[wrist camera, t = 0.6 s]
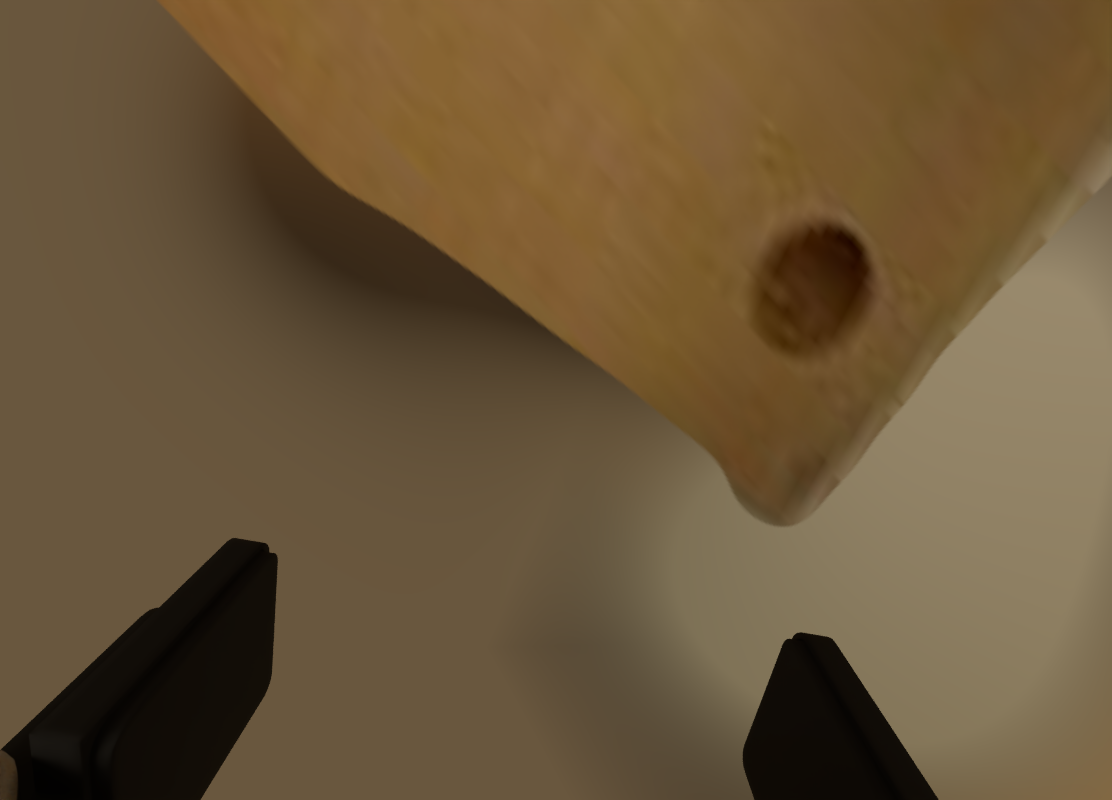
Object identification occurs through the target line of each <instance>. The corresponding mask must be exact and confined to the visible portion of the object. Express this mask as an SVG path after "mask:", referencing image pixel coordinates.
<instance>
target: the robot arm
mask: <svg viewBox="0 0 1112 800" xmlns="http://www.w3.org/2000/svg"><path fill="white" fill-rule="evenodd" d="M277 563H278V559H277V555H276V554H275V553H269V547H268V545H267V544H266V543H261V542H256V541H249V540H244V539H237V538H232V539H230V540H229V541H227V542H226V543H225V544H224V545H223V546H222V547H221V548H220V549H219V550H218V551H217V552H216V553H215V554H214V555H213V556H212V557H211V558H210V559H209V560H208V561H207V562H206V563H205V564H204V565H203V566H202V567H201V568H200V569H199V570H197V572H195V573H194V574H193V575H192V576H191V577H190V578H189V579H188V580H187V581H186V582H185V583H184V584H183V585H182V586H181V587H180V588H179V589H178V590H177V591H176V592H175V593H174V594H173V595H172V596H171V597H170V598H169V599H168V600H167V601H166V602H165V603H163V604H162V606H160V607H159V608H154V609H151V610H149V611H148V612H146V613H145V614H144V615H143V616H141V617H140V618H139V619H138V620H137V621H136V622H135V623H134V624H133V625H132V626H131V627H129V628H128V629H127V630H126V631H125V632H124V633H123V634H122V635H121V636H120V637H119V638H118V639H117V640H116V641H115V642H114V643H113V644H112V645H111V646H110V647H108V649H106V650H105V651H104V652H103V653H102V654H101V655H100V656H99V657H98V658H97V659H96V660H95V661H94V662H93V663H91V664H90V665H89V666H88V667H87V668H86V669H85V670H84V671H83V672H82V673H81V674H80V675H79V676H78V677H77V678H76V679H75V680H74V681H73V682H71V683H70V684H69V685H68V686H67V687H66V688H65V689H64V690H63V691H62V692H61V693H60V694H59V695H58V696H57V697H56V698H55V699H54V700H53V701H52V702H50V703H49V704H48V705H47V706H46V707H45V708H44V709H43V710H42V711H41V712H40V713H39V714H38V715H37V716H36V717H35V718H34V719H33V720H31V722H29V723H28V724H27V725H26V726H25V727H24V728H23V729H22V730H21V731H20V732H19V733H18V734H17V735H16V736H15V737H14V738H12V740H10V741H9V742H8V743H7V744H6V745H5V746H4V747H3V748H2V749H1V750H0V800H200V799H201V798H202V796H203V795H204V793H205V791H206V790H207V788H208V787H209V785H210V783H211V781H212V780H213V778H214V777H215V775H216V774H217V772H218V770H219V769H220V767H221V765H222V764H223V762H224V761H225V759H226V757H227V756H228V754H229V753H230V751H231V749H232V748H233V746H234V744H235V743H236V741H237V739H238V738H239V736H240V735H241V733H242V731H243V730H244V728H245V727H246V725H247V723H248V722H249V720H250V718H251V717H252V715H253V714H254V712H255V710H256V709H257V707H258V706H259V704H260V702H261V701H262V699H263V697H264V696H265V693H266V691H267V689H268V686H269V684H270V680H271V675H272V660H273V642H274V623H275V602H276V584H277ZM743 766H744V770H745V773H746V776H747V779H748V782H749V785H750V788H751V790H752V794H753V797H754V800H938V798H937V796H936V795H935V793H934V792H933V790H932V789H931V787H930V786H929V784H928V783H927V781H926V780H925V778H924V777H923V775H922V774H921V772H920V771H919V769H918V768H917V766H916V765H915V763H914V761H913V760H912V758H911V757H910V756H909V754H908V752H907V751H906V749H905V748H904V746H903V745H902V743H901V742H900V740H899V739H898V737H897V736H896V734H895V733H894V731H893V730H892V728H891V726H890V725H889V724H888V722H887V720H886V719H885V717H884V716H883V714H882V713H881V711H880V710H879V708H878V707H877V705H876V704H875V702H874V701H873V699H872V698H871V696H870V695H869V693H868V691H867V690H866V689H865V687H864V685H863V684H862V682H861V681H860V679H859V678H858V676H857V675H856V673H855V672H854V670H853V669H852V667H851V666H850V664H849V663H848V661H847V660H846V658H845V657H844V655H843V653H842V652H841V650H840V649H839V647H838V646H837V644H836V643H835V642H834V641H833V639H831V638H829V637H825V636H819V635H813V634H807V633H796V634H795V635H794V636H793V638H792V639H787V640H785V642H784V643H783V645H782V648H781V651H780V653H779V656H778V658H777V661H776V664H775V667H774V669H773V671H772V674H771V677H770V679H769V682H768V685H767V687H766V690H765V693H764V695H763V698H762V700H761V703H760V706H759V708H758V711H757V713H756V716H755V719H754V721H753V724H752V726H751V729H750V732H749V734H748V737H747V740H746V742H745V745H744V749H743Z"/></svg>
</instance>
